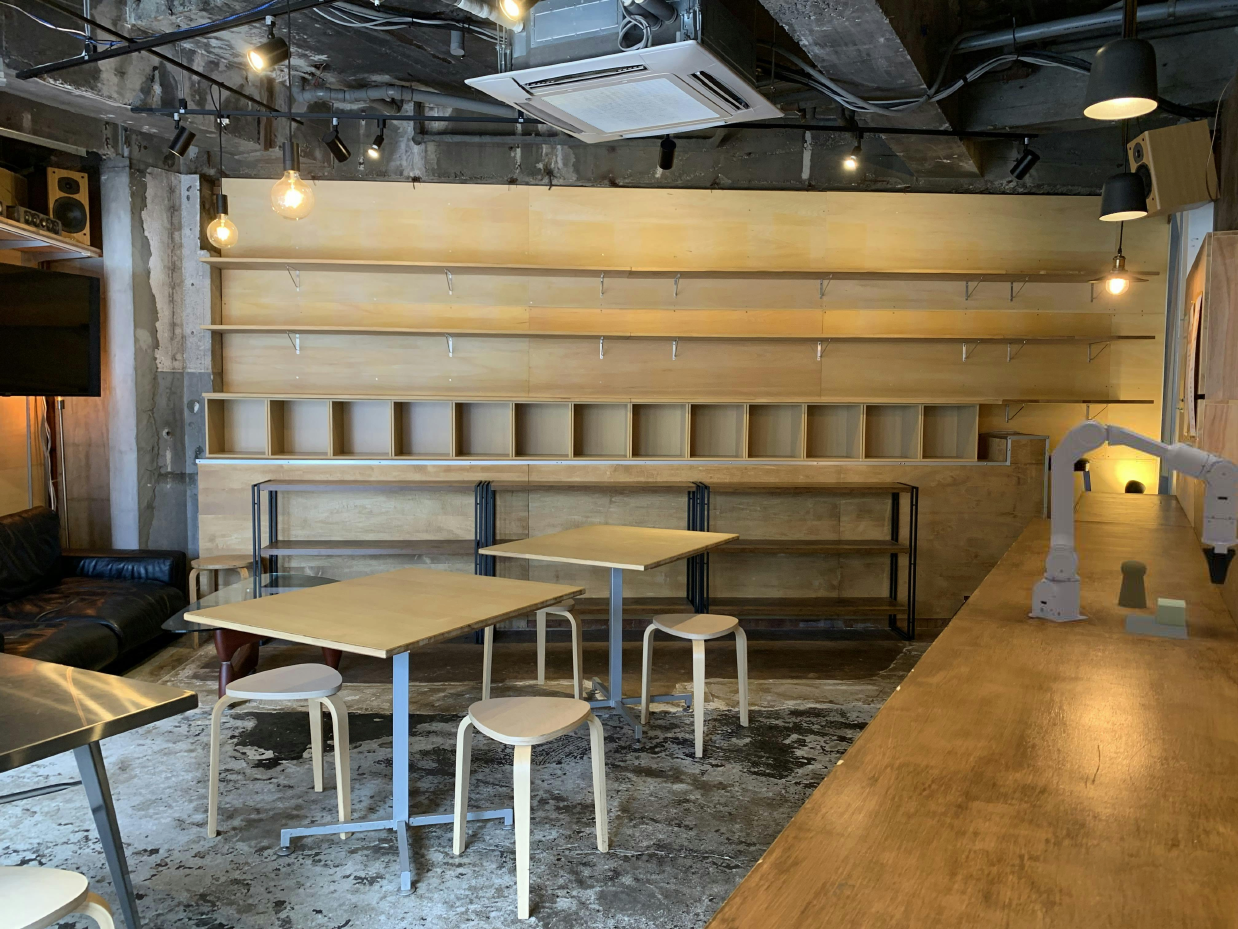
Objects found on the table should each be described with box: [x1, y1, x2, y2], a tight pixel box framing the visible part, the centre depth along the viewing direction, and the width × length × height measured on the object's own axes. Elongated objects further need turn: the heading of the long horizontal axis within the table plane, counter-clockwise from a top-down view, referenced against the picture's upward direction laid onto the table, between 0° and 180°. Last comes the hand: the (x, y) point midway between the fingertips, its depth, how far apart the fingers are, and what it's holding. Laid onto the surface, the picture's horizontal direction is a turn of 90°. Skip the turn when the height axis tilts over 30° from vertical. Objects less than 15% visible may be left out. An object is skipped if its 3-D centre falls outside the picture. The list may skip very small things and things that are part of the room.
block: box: [1157, 597, 1187, 626], centre depth 192 cm, size 4×5×8 cm
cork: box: [1117, 560, 1148, 610], centre depth 207 cm, size 6×6×11 cm
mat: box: [1123, 613, 1189, 641], centre depth 188 cm, size 20×11×1 cm, turn 149°
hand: (1217, 583), depth 183 cm, fingers closed
